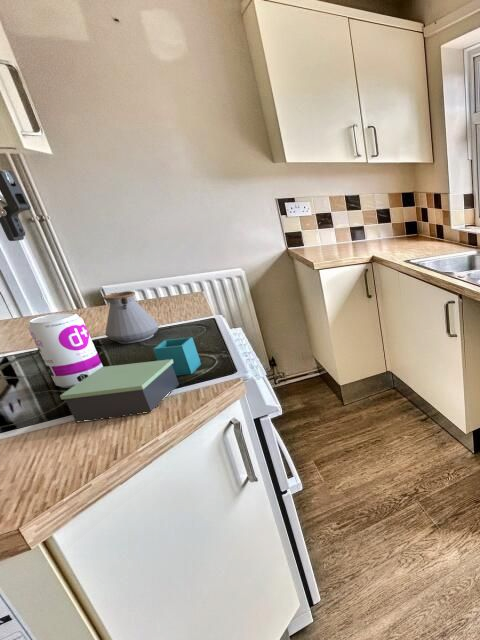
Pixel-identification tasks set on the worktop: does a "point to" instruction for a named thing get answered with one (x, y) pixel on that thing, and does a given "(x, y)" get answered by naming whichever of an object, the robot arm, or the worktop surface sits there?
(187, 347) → the teal container
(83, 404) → the green and grey box
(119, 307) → the coffee pot
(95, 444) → the worktop surface
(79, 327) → the supplement can
